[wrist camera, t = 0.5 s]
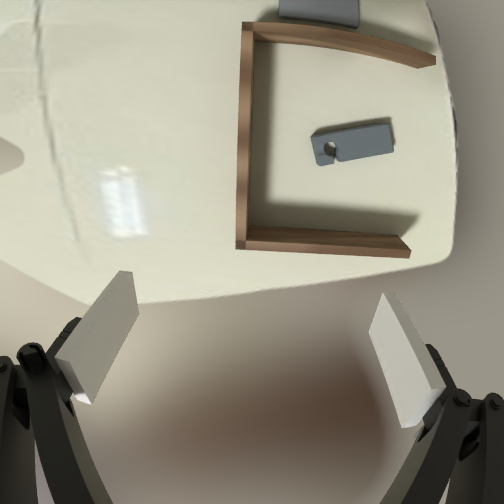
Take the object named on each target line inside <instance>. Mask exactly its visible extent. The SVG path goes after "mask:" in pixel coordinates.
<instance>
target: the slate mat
mask: <svg viewBox="0 0 504 504" xmlns="http://www.w3.org/2000/svg"><path fill="white" fill-rule="evenodd" d="M279 18H282V19H294V20H304V21H313V22H320V23H327V24H334V25H340V26H345V27H350V28H355V29H357V28H358V27H359V12H358V0H279Z"/></svg>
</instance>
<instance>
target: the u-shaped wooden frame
mask: <svg viewBox="0 0 504 504" xmlns="http://www.w3.org/2000/svg"><path fill="white" fill-rule="evenodd" d="M255 42H270V43H286V44H298V45H308V46H316V47H324V48H331V49H337V50H343V51H349V52H354V53H359V54H364V55H368V56H373V57H377V58H381V59H385V60H389V61H393V62H397V63H401V64H404V65H407V66H411V67H414V68H417V69H418V68H423V67H427V66H432V65H436V56H434V55H431V54H429V53H426V52H423V51H420V50H417V49H414V48H411V47H408V46H405V45H401V44H398V43H394V42H391V41H387V40H383V39H380V38H376V37H371V36H367V35H363V34H358V33H353V32H348V31H342V30H337V29H330V28H324V27H317V26H308V25H299V24H288V23H272V22H242V35H241V58H240V83H239V112H238V146H237V189H236V249H240V250H259V251H278V252H297V253H316V254H335V255H354V256H372V257H391V258H409V257H410V254H411V249H410V248H409V247H408V246H407V245H406V244H405V243H404V242H403V241H402V240H401V239H400V238H399V237H398V236H397V235H385V234H372V233H359V232H346V231H331V230H316V229H300V228H282V227H264V226H248V216H249V185H250V156H251V128H252V101H253V74H254V49H255Z"/></svg>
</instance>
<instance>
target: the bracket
mask: <svg viewBox="0 0 504 504" xmlns="http://www.w3.org/2000/svg"><path fill="white" fill-rule="evenodd" d="M310 138H311V142H312V146H313V150H314V154H315V158H316V163H317V164H318V165H319V166H324V165H329V164H334V158H333V154H329V153H327V152H326V151H325V149H324V147H325V144H326V143H327V142H333V143H334V144H335V146H336V149H335V155H336V158H337V160H338V161H339V162H344V161H349V160H354V159H359V158H364V157H370V156H375V155H381V154H386V153H392V152H393V151H394V149H393V143H392V137H391V132H390V126H389V124H388V123H379V124H372V125H366V126H360V127H354V128H348V129H342V130H337V131H331V132H326V133H321V134H316V135H312V136H311V137H310Z"/></svg>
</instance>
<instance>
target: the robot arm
mask: <svg viewBox="0 0 504 504" xmlns="http://www.w3.org/2000/svg"><path fill="white" fill-rule="evenodd" d="M138 315H139V310H138V304H137V299H136V293H135V287H134V280H133V274H132V272H127V271H119V272H118V273H117V275H116V276H115V277H114V278H113V279H112V281H111V282H110V283H109V284H108V286H107V287H106V288H105V289H104V291H103V292H102V293H101V294H100V296H99V297H98V298H97V299H96V301H95V302H94V303H93V305H92V306H91V307H90V309H89V310H88V311H87V313H86V314H85V315H84V317H83V318H79V317H76V318H74V319H73V320H71V321H70V322H69V323H68V324H67V325H66V326H65V328H64V329H63V332H61V333H60V334H59V337H57V338H56V340H55V341H54V342H53V344H52V345H51V347H50V348H49V349H48V351H47V352H46V353H45V352H44V350H43V348H42V346H41V345H40V344H38V343H34V342H33V343H28V344H26V345H24V346H22V347H21V348H20V349H19V351H18V352H17V359H18V361H19V363H20V365H14V364H13V362H12V361H11V359H10V358H9V357H8V356H0V504H38V497H37V488H36V475H35V449H34V447H35V445H34V444H35V441H36V445H37V449H38V453H39V457H40V461H41V464H42V467H43V471H44V474H45V477H46V480H47V484H48V487H49V489H50V492H51V495H52V497H53V500H54V503H55V504H113V503H112V501H111V499H110V497H109V495H108V493H107V491H106V489H105V487H104V485H103V483H102V481H101V478H100V476H99V474H98V472H97V470H96V467H95V465H94V463H93V460H92V458H91V455H90V453H89V450H88V448H87V445H86V442H85V440H84V437H83V434H82V432H81V429H80V426H79V423H78V420H77V417H76V414H75V410H74V407H73V404H72V401H71V399H70V397H71V395H72V393H74V395H75V396H76V398H77V400H79V401H82V402H85V403H88V404H91V405H92V403H93V401H94V399H95V397H96V395H97V393H98V391H99V389H100V387H101V385H102V383H103V381H104V379H105V377H106V375H107V373H108V371H109V369H110V367H111V365H112V363H113V361H114V359H115V357H116V356H117V354H118V352H119V350H120V348H121V346H122V344H123V342H124V341H125V339H126V337H127V335H128V333H129V331H130V330H131V328H132V326H133V324H134V322H135V321H136V319H137V317H138ZM369 334H370V337H371V340H372V342H373V345H374V348H375V350H376V353H377V355H378V358H379V361H380V364H381V367H382V369H383V372H384V375H385V378H386V381H387V384H388V387H389V390H390V393H391V395H392V399H393V402H394V405H395V408H396V411H397V414H398V417H399V421H400V424H401V427H402V428H405V427H411V426H416V425H417V424H418V423H419V421H420V420H421V419H422V418H423V421H424V425H423V426H422V427H421V429H420V430H419V431H418V432H417V433H416V434H415V435H414V438H416V437H417V438H416V440H415V443H414V445H413V447H412V449H411V451H410V453H409V455H408V457H407V458H406V460H405V462H404V464H403V466H402V468H401V469H400V471H399V473H398V475H397V476H396V478H395V480H394V482H393V483H392V485H391V487H390V488H389V490H388V491H387V493H386V495H385V496H384V498H383V499H382V501H381V502H380V504H439V502H440V500H441V497H442V495H443V493H444V491H445V488H446V486H447V484H448V481H449V479H450V483H449V489H448V494H447V499H446V503H445V504H504V400H503V398H502V397H501V396H500V395H499V394H496V393H490V394H488V395H487V396H486V397H485V398H484V400H478V399H472V398H471V396H470V395H469V394H468V393H467V392H466V391H464V390H462V389H457V388H456V385H455V383H454V381H453V379H452V377H451V375H450V374H449V372H448V370H447V368H446V367H445V364H444V362H443V361H442V358H441V357H440V355H439V353H438V351H437V350H436V349H435V348H434V347H433V346H432V345H431V344H424V342H423V341H422V338H421V337H420V335H419V333H418V331H417V329H416V328H415V326H414V324H413V322H412V321H411V319H410V317H409V315H408V314H407V312H406V310H405V308H404V307H403V305H402V303H401V302H400V300H399V298H398V297H397V295H396V293H391V292H383V293H382V296H381V299H380V302H379V305H378V308H377V311H376V313H375V316H374V319H373V322H372V324H371V327H370V329H369ZM417 435H418V436H417ZM34 440H35V441H34ZM450 476H451V477H450Z"/></svg>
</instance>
